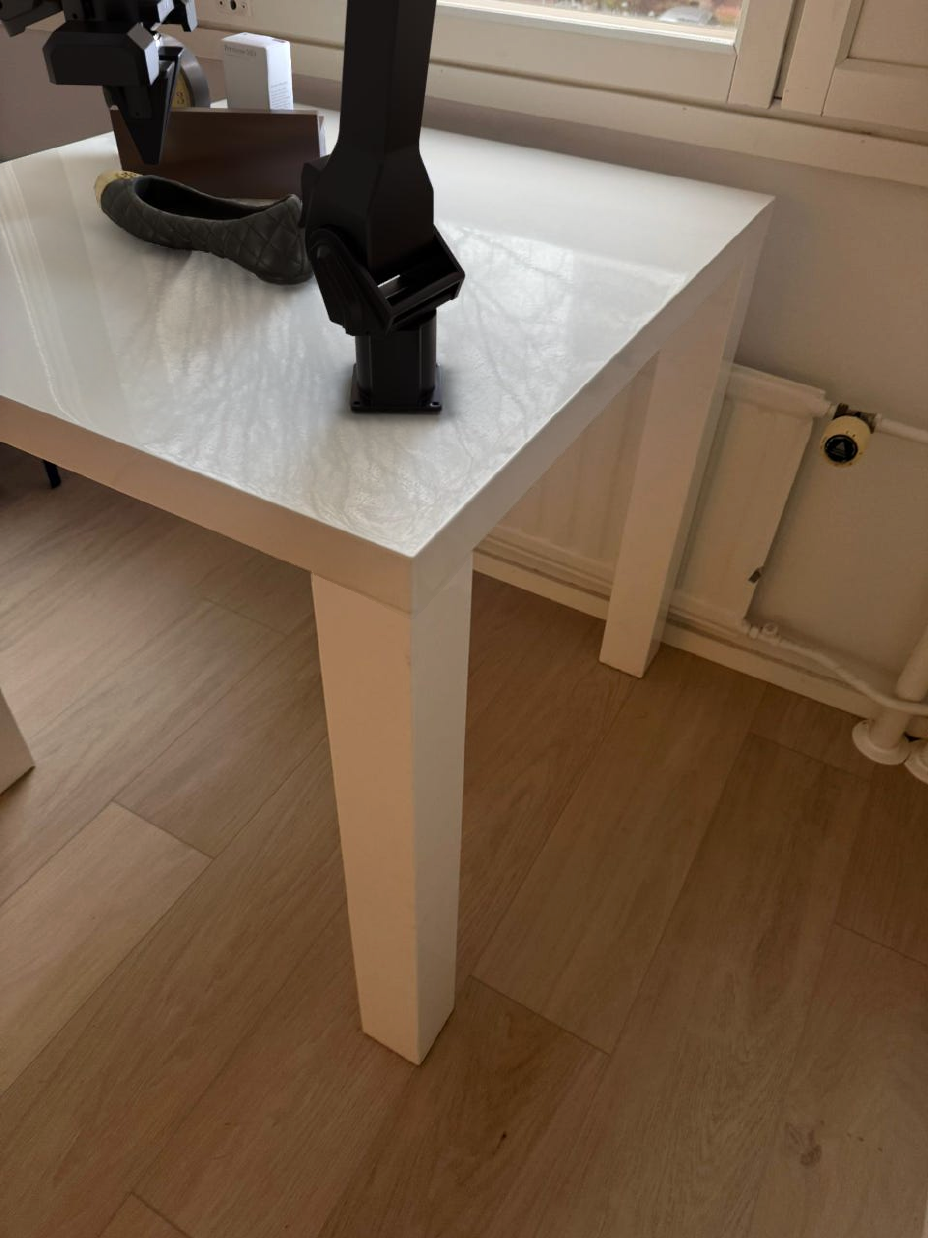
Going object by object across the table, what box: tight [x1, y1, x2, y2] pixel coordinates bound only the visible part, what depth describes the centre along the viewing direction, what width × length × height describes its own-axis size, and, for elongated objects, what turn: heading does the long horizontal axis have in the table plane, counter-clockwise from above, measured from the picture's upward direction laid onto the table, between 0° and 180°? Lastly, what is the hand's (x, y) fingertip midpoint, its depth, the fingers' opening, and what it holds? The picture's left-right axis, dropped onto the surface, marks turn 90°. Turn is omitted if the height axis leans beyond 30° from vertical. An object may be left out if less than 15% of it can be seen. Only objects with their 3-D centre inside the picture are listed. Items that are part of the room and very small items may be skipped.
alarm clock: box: [101, 31, 212, 113], centre depth 98 cm, size 11×5×16 cm, turn 73°
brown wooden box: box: [108, 105, 327, 200], centre depth 94 cm, size 7×20×8 cm, turn 93°
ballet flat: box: [93, 169, 315, 286], centre depth 82 cm, size 9×26×7 cm, turn 57°
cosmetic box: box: [220, 31, 294, 110], centre depth 98 cm, size 6×4×12 cm
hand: (152, 163), depth 69 cm, fingers closed
